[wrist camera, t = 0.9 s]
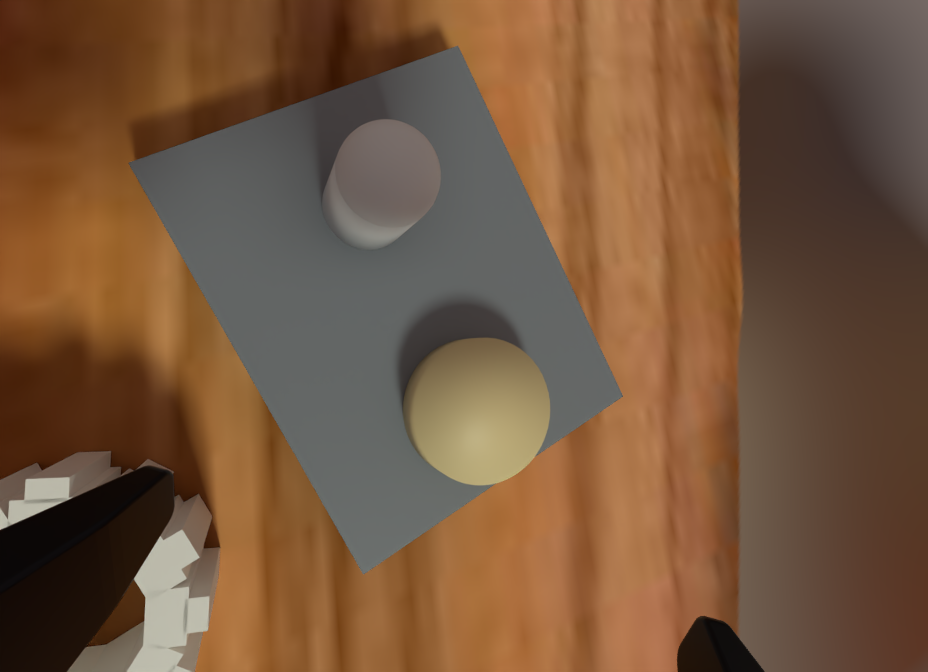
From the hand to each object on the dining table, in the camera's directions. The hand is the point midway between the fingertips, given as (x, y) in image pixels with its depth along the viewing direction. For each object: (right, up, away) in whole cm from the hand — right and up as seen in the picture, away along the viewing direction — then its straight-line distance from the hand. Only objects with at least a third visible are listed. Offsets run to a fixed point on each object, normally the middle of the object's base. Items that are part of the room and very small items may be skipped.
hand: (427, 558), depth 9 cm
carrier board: (-2, +5, +12) cm, 13 cm away
